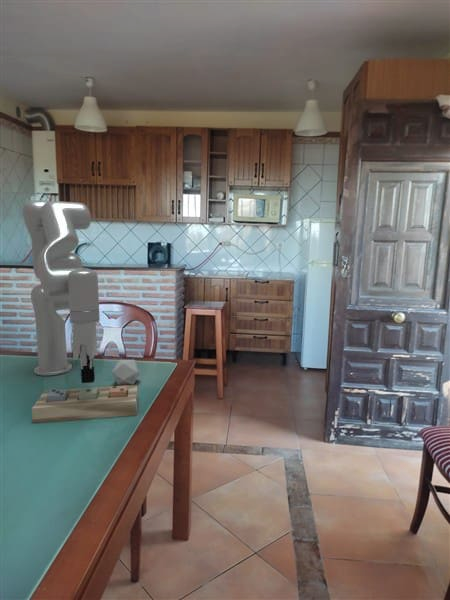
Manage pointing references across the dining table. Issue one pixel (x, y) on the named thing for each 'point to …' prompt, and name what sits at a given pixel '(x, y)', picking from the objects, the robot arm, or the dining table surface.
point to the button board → (85, 406)
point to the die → (126, 372)
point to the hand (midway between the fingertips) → (88, 381)
